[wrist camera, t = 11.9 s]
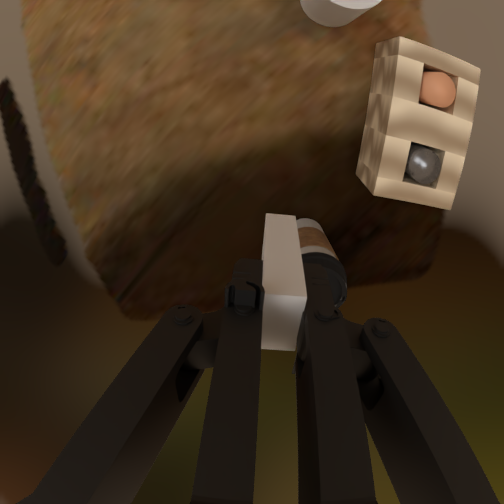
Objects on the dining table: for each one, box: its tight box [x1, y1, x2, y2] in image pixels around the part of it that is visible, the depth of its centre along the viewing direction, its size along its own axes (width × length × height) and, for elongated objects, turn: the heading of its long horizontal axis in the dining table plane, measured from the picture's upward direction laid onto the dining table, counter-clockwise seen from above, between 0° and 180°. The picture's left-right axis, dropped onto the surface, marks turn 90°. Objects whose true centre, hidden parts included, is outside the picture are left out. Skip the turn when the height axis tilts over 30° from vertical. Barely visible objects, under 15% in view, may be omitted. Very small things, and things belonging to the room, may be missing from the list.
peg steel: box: [405, 141, 441, 184], centre depth 37 cm, size 4×4×9 cm
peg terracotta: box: [418, 72, 456, 107], centre depth 32 cm, size 4×4×9 cm
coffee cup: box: [296, 218, 347, 308], centre depth 43 cm, size 8×8×15 cm
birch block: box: [356, 36, 480, 210], centre depth 35 cm, size 20×12×9 cm, turn 175°
